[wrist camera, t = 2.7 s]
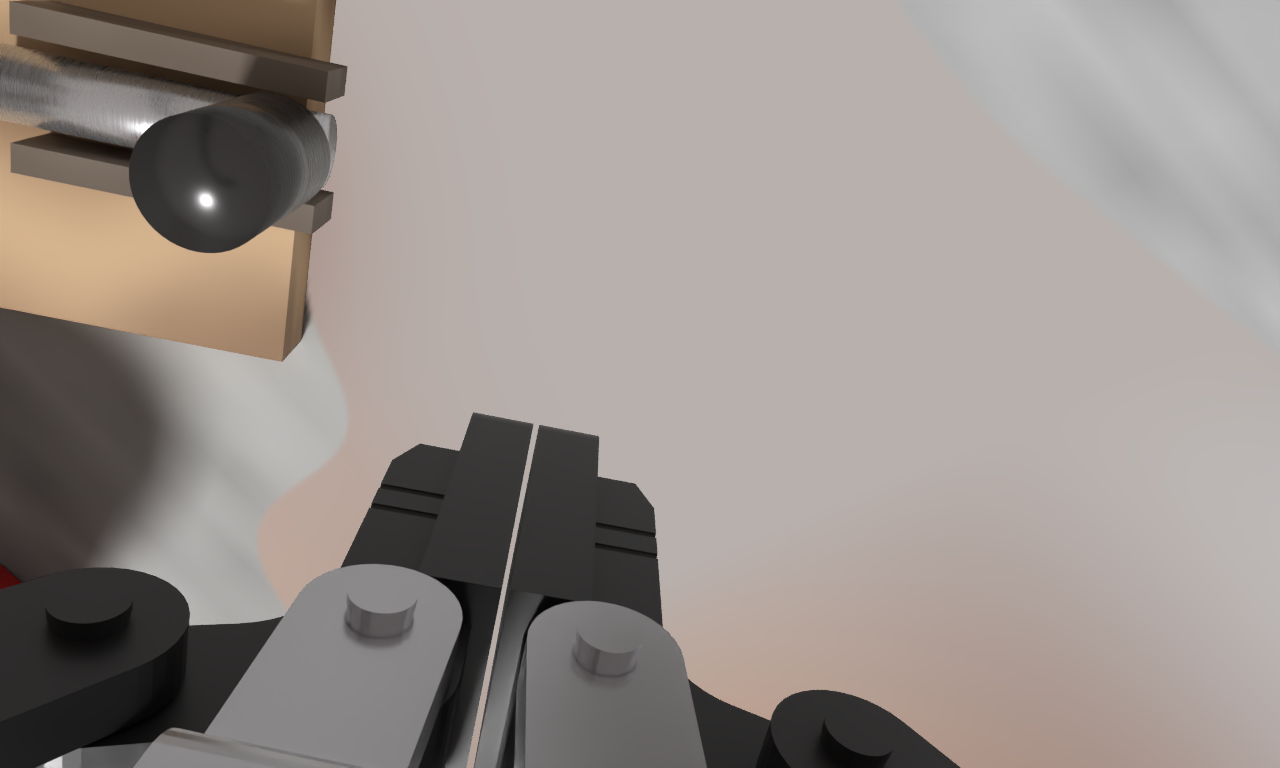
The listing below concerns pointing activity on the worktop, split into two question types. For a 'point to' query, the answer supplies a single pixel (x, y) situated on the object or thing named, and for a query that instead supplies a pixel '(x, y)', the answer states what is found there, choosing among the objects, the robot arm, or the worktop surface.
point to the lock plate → (100, 189)
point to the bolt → (180, 143)
